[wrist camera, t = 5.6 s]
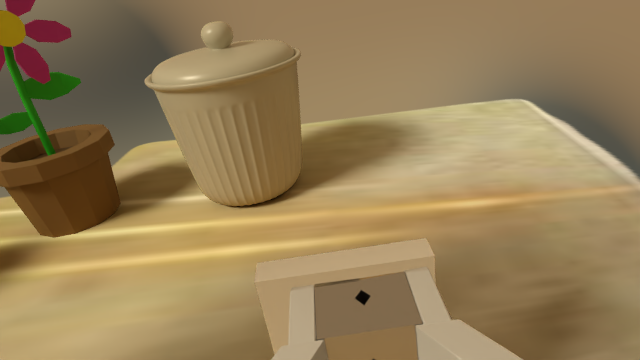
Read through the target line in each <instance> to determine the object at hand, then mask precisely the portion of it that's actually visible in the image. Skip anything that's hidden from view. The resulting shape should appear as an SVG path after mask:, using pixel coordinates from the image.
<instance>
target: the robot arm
mask: <svg viewBox="0 0 640 360" xmlns="http://www.w3.org/2000/svg"><path fill="white" fill-rule="evenodd" d="M271 360H523V359H522V358H520V357H519V356H517V355H515V354H514V353H512V352H511V351H509V350H507V349H506V348H504V347H503V346H501V345H500V344H498V343H496V342H495V341H493V340H492V339H490V338H489V337H487V336H485V335H484V334H482V333H481V332H479V331H477V330H476V329H474V328H473V327H471V326H470V325H468V324H466V323H465V322H463V321H462V320H460V319H456V320H452V319H451V317H450V314H449V312H448V310H447V308H446V305H445V303H444V301H443V299H442V297H441V294H440V292H439V290H438V288H437V285H436V283H435V281H434V279H433V277H432V274H431V272H430V270H429V268H427V267H420V268H415V269H409V270H404V271H401V272H395V273H389V274H383V275H377V276H371V277H364V278H357V279H349V280H342V281H334V282H327V283H319V284H315V285H307V286H300V287H293V288H291V291H290V307H289V337H288V345H285V346H281V347H280V348H279V350H278V351H277V352H276V354H275V355H274V356H273V358H272V359H271Z"/></svg>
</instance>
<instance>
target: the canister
mask: <svg viewBox="0 0 640 360" xmlns="http://www.w3.org/2000/svg"><path fill="white" fill-rule="evenodd" d="M201 37H202V40H203V42H204V43H205V45H206V46H207V47H206V48H201V49H197V50H194V51H190V52H187V53H183V54H180V55H177V56H174V57H172V58H170V59H168V60H165V61H164V62H162V63H160V64H159V65H158V66H157V67H156V68H155V69H154V71H153V73H152V74H151V75H149V76H148V77H147V78H146V79H145V84H146V85H147V86H148V87H149V88H151V89H154V91H155V93H156V95H157V98H158V100H159V102H160V105H161V107H162V109H163V111H164V114H165V116H166V118H167V120H168V122H169V125H170V127H171V129H172V131H173V134H174V136H175V138H176V140H177V143H178V145H179V147H180V149H181V151H182V153H183V156H184V158H185V160H186V162H187V164H188V166H189V168H190V170H191V172H192V174H193V177H194V179H195V181H196V183H197V184H198V186H199V188H200V190H201V191H202V192H203V193H204V194H205V195H206V196H207V197H208V198H209V199H210V200H212V201H214V202H216V203H219V204H222V205H227V206H231V205H232V206H244V205H251V204H257V203H260V202H264V201H267V200H271V199H272V198H275V197H277V196H278V195H281V194H283V193H284V192H285V191H287V190H288V189H289V188H291V187H292V186H293V184H294V183H295V182H296V181H297V178H298V177H299V174H300V171H301V166H302V142H301V120H300V104H299V89H298V88H299V87H298V75H297V61H298V60H299V58H300V56H301V51H300V50H299V49H297V48H293V47H291V46H290V45H288V44H287V43H285V42H282V41H278V40H248V41H239V42H232V39H233V31H232V28H231V27H230V26H229V25H228V24H227V23H225V22H222V21H216V22H211V23H208V24H206V25H205V26H204V27H203V29H202V31H201ZM231 42H232V43H231Z"/></svg>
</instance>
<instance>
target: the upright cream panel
mask: <svg viewBox="0 0 640 360" xmlns="http://www.w3.org/2000/svg"><path fill="white" fill-rule="evenodd" d="M420 267H427V268H429V270H430V272H431V274H432V277H433V279H434V281H435V255H434V253H433V251H432V249H431V247H430V245H429V243H428V241H427V239H426V238H422V239H415V240H409V241H402V242H395V243H388V244H382V245H375V246H368V247H361V248H355V249H348V250H341V251H334V252H328V253H321V254H314V255H307V256H301V257H294V258H287V259H280V260H274V261H267V262H260V263H257V267H256V275H255V286H256V290H257V293H258V297H259V301H260V304H261V308H262V311H263V315H264V319H265V322H266V326H267V330H268V333H269V337H270V341H271V344H272V348H273V351H274V355H275V354H276V352H277V351H278V350H279V348H280V347H281V346H285V345H288V337H289V307H290V291H291V288H293V287H300V286H307V285H315V284H319V283H327V282H334V281H342V280H349V279H357V278H364V277H371V276H377V275H383V274H389V273H395V272H401V271H404V270H409V269H415V268H420ZM435 283H436V282H435Z"/></svg>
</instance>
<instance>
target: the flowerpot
mask: <svg viewBox="0 0 640 360" xmlns="http://www.w3.org/2000/svg"><path fill="white" fill-rule="evenodd" d="M5 2H6V8H7V11H3V10H0V70H1V68H2V66H3V64H4V62H5V60H6V63H7V66H8V68H9V71H10V73H11V76H12V78H13V81H14V83H15V85H16V88H17V90H18V92H19V95H20V97H21V100H22V102H23V104H24V106H25V108H26V110H27V112H20V113H12V114H10V115H8V116H6V117H4V118H1V119H0V134H11V133H16V132H20V131H23V130H25V129H26V128H27V127H29V126H30V125H31V124H33V125H34V127H35V129H36V131H37V133H38V135H35V136H32V137H29V138H25V139H23V140H21V141H18V142H16V143H13V144H11V145H9V146H6V147H4V148H1V149H0V186H2V187H5V188H6V190H7V191H8V192H9V194H10V195H11V196H12V198H13V199H14V200H15V202H16V203H17V204H18V206H19V207H20V208H21V210H22V211H23V212H24V214H25V215H26V216H27V218H28V219H29V220H30V222H31V223H32V224H33V226H34V227H35V228H36V230H37V231H38V232H39V233H40V235H44V236H49V237H59V236H65V235H70V234H75V233H78V232H81V231H83V230H86V229H88V228H90V227H93V226H95V225H98V224H99V223H101V222H102V221H104V220H105V219H107V218H108V217H110V216H111V215H113V214H114V213H115V212H116V210H117V208H118V207H119V205H120V204H121V203H120V199H119V195H118V191H117V187H116V183H115V179H114V175H113V171H112V167H111V164H110V159H109V156H108V152H109V151H110V149H111V148H112V147H113V146H114V142H113V139H112V137H111V134H110V132H109V130H108V129H107V128H106V127H105V126H104V125H88V124H85V125H78V126H72V127H67V128H61V129H56V130H53V131H49V132H46V131H45V129H44V127H43V124H42V122H41V120H40V118H39V116H38V114H37V112H36V109H35V108H34V105H33V103H32V101H31V99H30V98H33V99H46V100H52V99H54V98H57V97H60V96H63V95H65V94H67V93H69V92H70V91H71V90H72V89H74V88H75V87H76V86H77V85H79V84H80V83H81V81H80V79H79V78H76V77H73V76H69V75H66V74H63V73H59V72H51V73H50V72H49V69H48V65H47V63H46V62H45V61H44V60H43V58H42V57H41V55H40V54H39V53H38V52H37V51H36V49H34V48H32V47H30V46H28V45H26V44H24V43H22V42H23V39H24V38H25V36H26V35H27V36H28V37H30V38H32V39H34V40H36V41H37V42H55V43H58V42H61V41H63V40H65V39H68V38H70V37H71V31H70V29H69V28H67V27H65V26H63V25H62V24H60V23H58V22H56V21H47V20H34V21H32V22H29V23H27V24H25V25H24V24H23V23H22V21H21V20H20V19H19V17H18V16H20V15H22V14H24V13H26V12H28V11H30V10H31V8H32V6H33V4H34V2H35V0H5ZM12 47H13V50H14V53H13V50H12ZM16 62H17V63H18V64H19V66H20V67H21V68H22V69H23V71H24V72H25V73H26V74H27V75H28V76H29V77H31V78H29V79H28V80H26V81H23V79H22V76H21V74H20V71H19V69H18V66H17V63H16Z"/></svg>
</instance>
